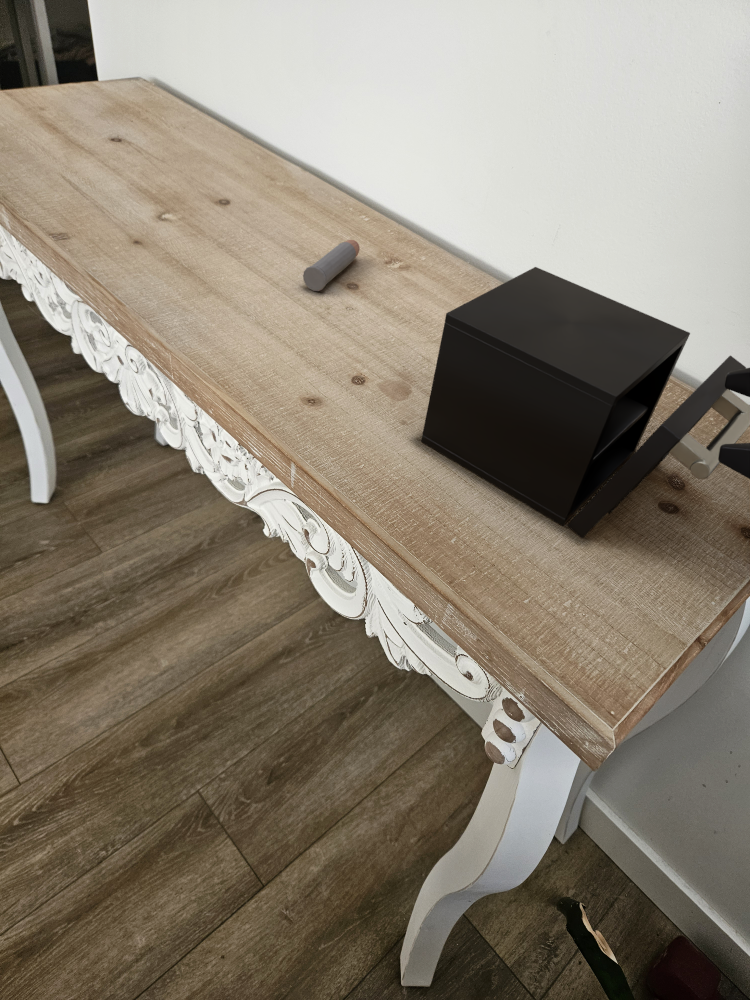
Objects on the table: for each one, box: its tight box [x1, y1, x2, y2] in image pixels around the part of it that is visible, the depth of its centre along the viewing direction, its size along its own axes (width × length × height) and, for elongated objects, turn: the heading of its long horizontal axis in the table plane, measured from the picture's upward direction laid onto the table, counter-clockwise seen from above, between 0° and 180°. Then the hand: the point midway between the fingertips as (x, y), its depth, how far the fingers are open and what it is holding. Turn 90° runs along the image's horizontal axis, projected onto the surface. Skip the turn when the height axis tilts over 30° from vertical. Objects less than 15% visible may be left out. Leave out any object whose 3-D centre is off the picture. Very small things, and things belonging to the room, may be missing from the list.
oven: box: [420, 266, 691, 527], centre depth 61 cm, size 15×14×13 cm
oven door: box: [567, 355, 750, 539], centre depth 57 cm, size 5×14×13 cm, turn 139°
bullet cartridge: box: [302, 239, 360, 292], centre depth 86 cm, size 11×3×3 cm, turn 157°
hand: (722, 413), depth 45 cm, fingers open, 9 cm apart
